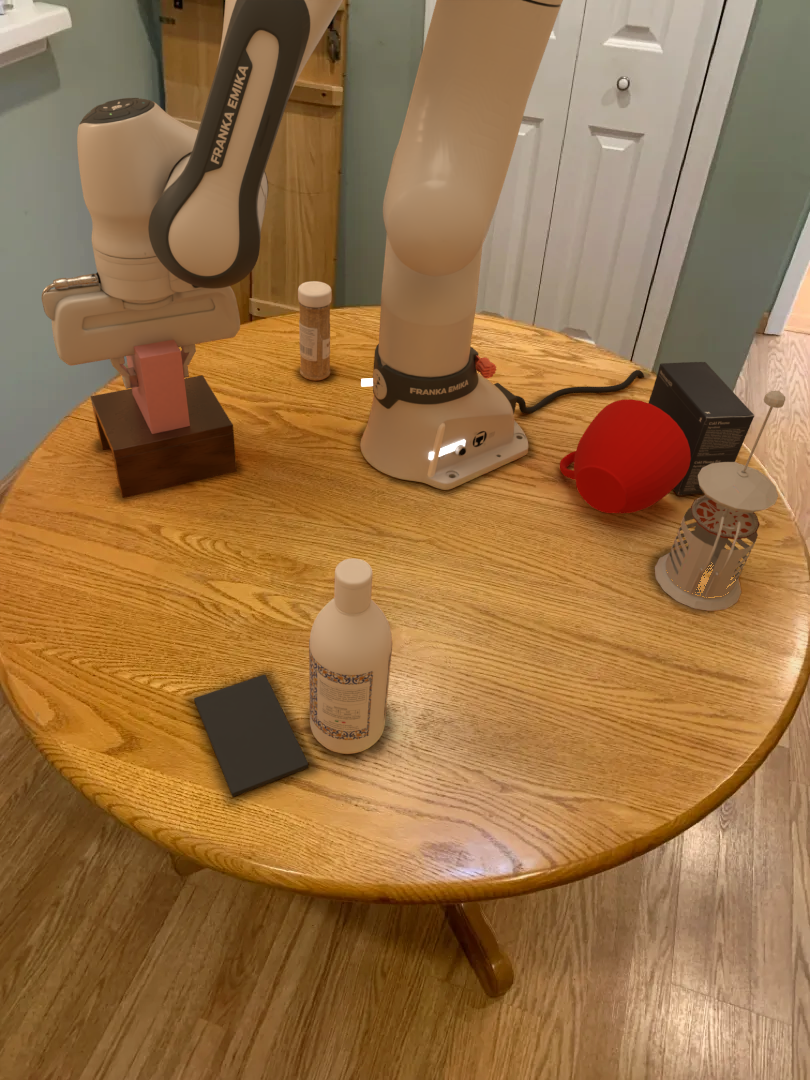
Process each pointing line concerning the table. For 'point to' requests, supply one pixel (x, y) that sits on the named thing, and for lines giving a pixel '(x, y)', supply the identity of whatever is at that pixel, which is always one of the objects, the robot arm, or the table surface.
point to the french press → (718, 531)
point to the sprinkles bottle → (314, 329)
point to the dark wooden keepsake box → (165, 441)
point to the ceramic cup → (628, 457)
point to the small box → (701, 416)
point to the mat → (250, 735)
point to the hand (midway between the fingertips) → (156, 380)
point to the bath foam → (349, 664)
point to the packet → (160, 385)
